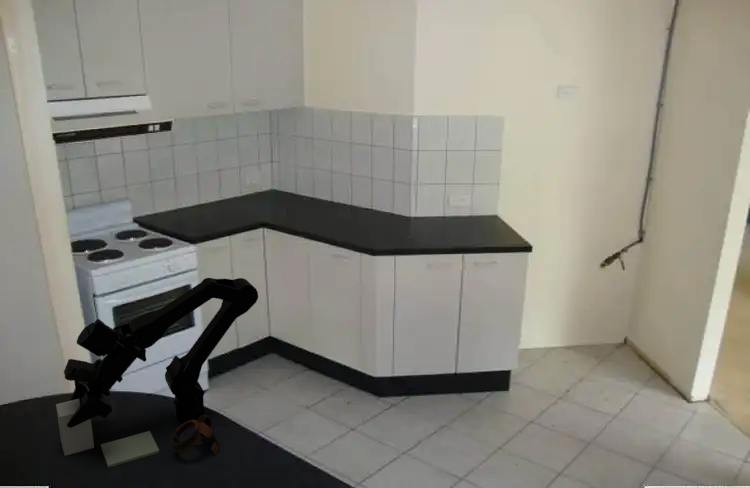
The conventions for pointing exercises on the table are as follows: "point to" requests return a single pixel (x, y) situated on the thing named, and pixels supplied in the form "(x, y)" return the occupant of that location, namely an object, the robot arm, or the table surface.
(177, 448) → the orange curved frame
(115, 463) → the sage mat
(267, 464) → the table surface
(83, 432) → the gray rectangular block
